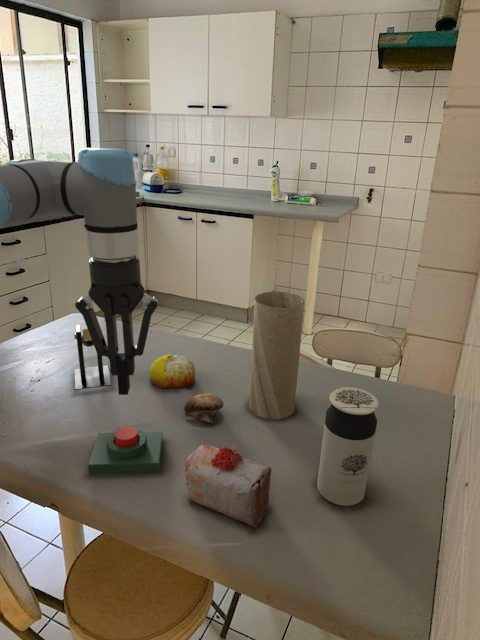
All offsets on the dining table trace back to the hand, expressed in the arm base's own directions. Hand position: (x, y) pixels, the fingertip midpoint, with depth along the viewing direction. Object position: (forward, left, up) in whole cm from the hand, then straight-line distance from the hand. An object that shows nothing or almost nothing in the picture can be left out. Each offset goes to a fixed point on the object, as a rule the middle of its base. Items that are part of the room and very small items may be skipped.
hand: (124, 390), depth 79 cm
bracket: (-12, +28, -14) cm, 34 cm away
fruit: (+7, +27, -14) cm, 31 cm away
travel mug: (+37, -10, -14) cm, 41 cm away
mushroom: (+14, +12, -14) cm, 23 cm away
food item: (+17, -12, -14) cm, 25 cm away
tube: (+29, +16, -14) cm, 36 cm away
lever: (-13, +31, -6) cm, 35 cm away
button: (0, 0, -11) cm, 11 cm away
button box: (0, 0, -14) cm, 14 cm away
